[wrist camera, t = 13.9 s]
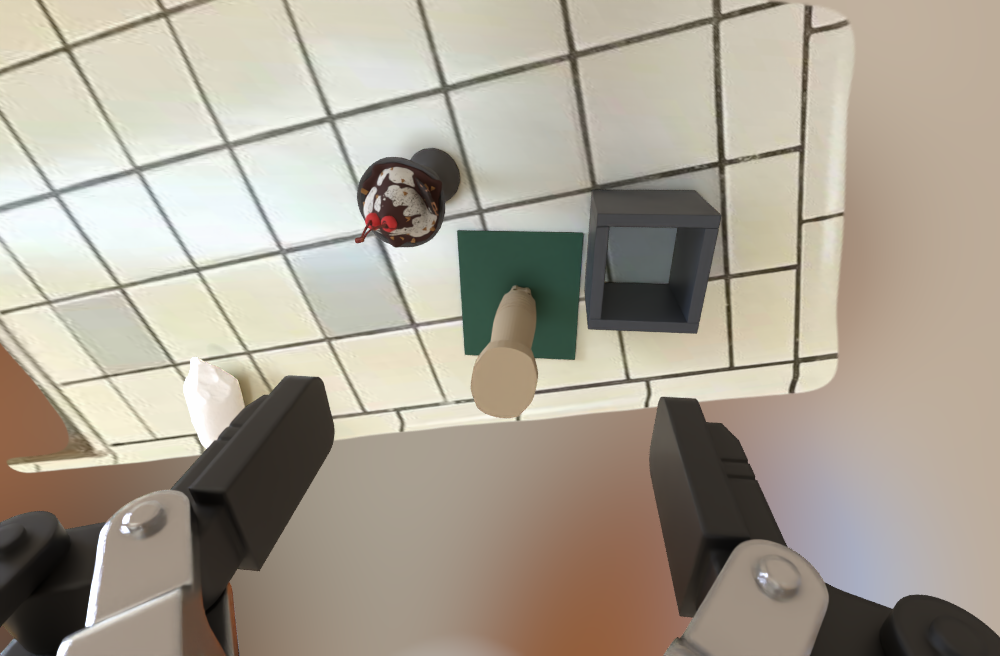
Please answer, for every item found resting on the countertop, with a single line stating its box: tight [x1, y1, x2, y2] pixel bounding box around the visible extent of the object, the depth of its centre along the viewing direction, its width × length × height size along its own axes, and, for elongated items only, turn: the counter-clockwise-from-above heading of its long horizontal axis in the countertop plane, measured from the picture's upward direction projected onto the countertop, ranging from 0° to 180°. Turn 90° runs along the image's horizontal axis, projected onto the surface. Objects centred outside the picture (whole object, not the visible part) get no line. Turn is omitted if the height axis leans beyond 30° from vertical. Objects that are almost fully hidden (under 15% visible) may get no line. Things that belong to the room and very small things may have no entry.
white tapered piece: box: [184, 357, 245, 448], centre depth 57 cm, size 6×12×6 cm, turn 176°
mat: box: [457, 230, 583, 360], centre depth 49 cm, size 14×12×1 cm
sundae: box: [355, 148, 460, 247], centre depth 38 cm, size 7×7×15 cm
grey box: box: [584, 190, 721, 334], centre depth 42 cm, size 10×9×8 cm
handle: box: [471, 285, 538, 418], centre depth 42 cm, size 5×6×15 cm
